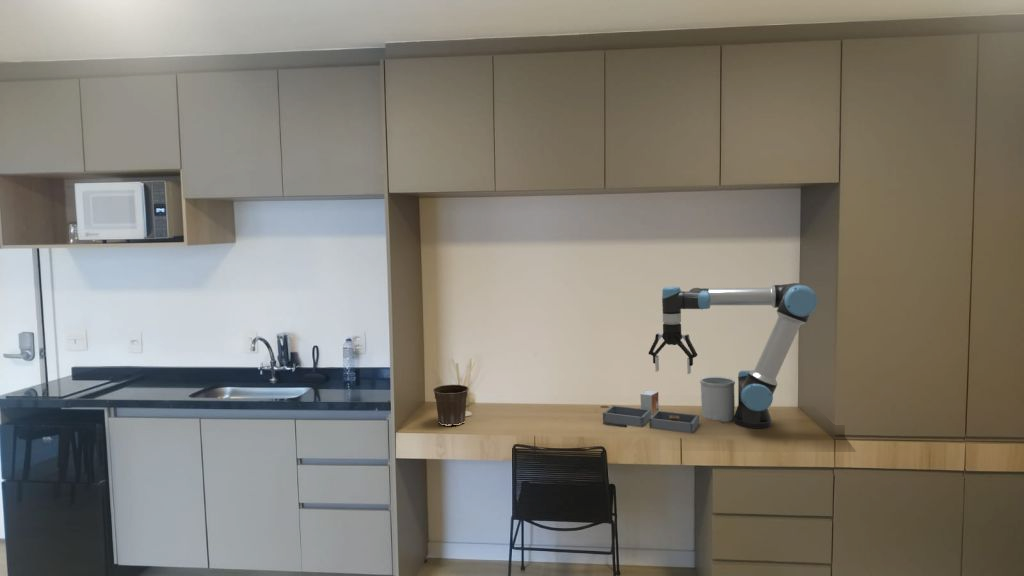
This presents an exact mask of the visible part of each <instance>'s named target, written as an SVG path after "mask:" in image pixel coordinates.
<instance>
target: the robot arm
mask: <svg viewBox="0 0 1024 576" xmlns="http://www.w3.org/2000/svg"><path fill="white" fill-rule="evenodd" d="M661 294H662V298H661V300H662V301H661V303H662V304H661V306H662V308H661V309H662V323H663V324H662V334H661V333H655V336H654V338H655V339H654V341H653V343H652V345H651V346H650V350H649V351H648V355H650V356H652V362H653V364H655V365H654V366H655V370H654V371H655V372H659V370H660V366H659V365H660V363H659V360H660V358H659V357H660V356H659V355H658V354H659V353H660V351H662V349H663V348H664V347H665V346H666V345H669V346H671V345H672V346H676V345H677V346H678V347H679V348H680V349H681V350H682V351H683V352H684V354H685V355H686V356H687V359H686V364H687V365H686V369H687V375H690V374H691V373H692V369H691V367H692V366H693V365H694V358H697V356H698V353H697V350H696V349H695V347H694V346H693V343H692V342H691V339H690V334H682V324H681V322H682V310H708V309H710V308H711V306H771V307H772V308H776V314H777V316H778V317H777V319H776V322H775V324H774V327H773V328H772V330H771V333H770V335H769V337H768V339H767V342H766V343H765V346H764V348H763V350H762V352H761V355H760V357H759V358H758V361H757V363H756V366H755V368H754V369H753V370H740V371H739V372H738V375H737V379H738V383H737V384H738V385H737V387H738V388H737V389H738V390H737V391H738V393H737V394H738V396H737V397H738V398H737V402H738V403H737V404H738V405H737V406H736V407H737V408H736V411H735V412H734V420H733V422H734V424H736V425H737V426H741V427H744V428H749V429H767V428H769V427H772V417H771V414H770V411H769V408H770V407H771V405H772V403H773V400H774V396H773V395H774V393H775V391H776V389H777V386H778V382H777V376H778V375H779V373H780V370H781V368H782V366H783V363H784V361H785V359H786V357H787V355H788V353H789V351H790V349H791V346H792V344H793V343H794V340H795V337H796V336H797V334H798V332H799V329H800V327H801V326H802V325H804V324H805V325H806V323H807V322H808V321H809V317H810V315H811V314H812V313H814V311H815V310H816V309H817V306H818V302H819V301H818V296H817V294H816V293H815V290H813V289H812V288H811V287H809V286H807V285H804V284H803V283H798V282H797V283H795V282H794V283H787V284H785V283H784V284H773V285H771V287H720V288H719V287H716V288H715V287H714V288H713V287H711V288H710V287H709V288H704V287H703V288H700V287H693V288H691V289H690V290H688V291H684V290H683V291H682V289H681V287H680V286H664V287H663V288H662V293H661ZM660 339H662V340H663V341H662V343H661V344H660V345H659V346H658V348H657V349H656V347H657V345H658V343H659V341H660ZM682 339H683V340H684V341H685V342H686V345H687V347H688V348H687V347H686V346H685V344H684V343H683V341H682ZM655 349H656V350H655Z"/></svg>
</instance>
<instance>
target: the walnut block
mask: <svg viewBox="0 0 1024 576" xmlns="http://www.w3.org/2000/svg"><path fill="white" fill-rule="evenodd" d="M669 418H670V420H671V421H679V416H673V415H669Z"/></svg>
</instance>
